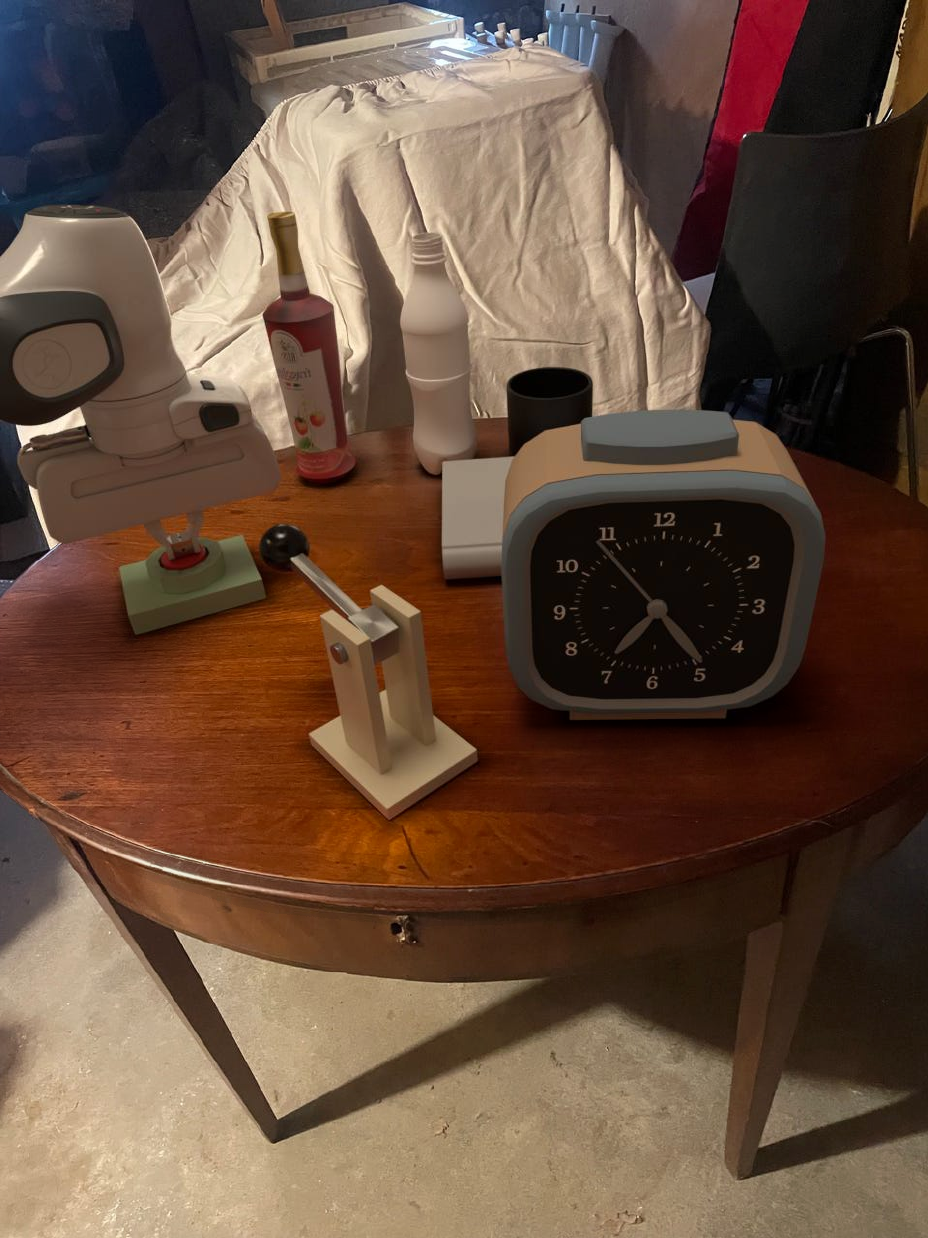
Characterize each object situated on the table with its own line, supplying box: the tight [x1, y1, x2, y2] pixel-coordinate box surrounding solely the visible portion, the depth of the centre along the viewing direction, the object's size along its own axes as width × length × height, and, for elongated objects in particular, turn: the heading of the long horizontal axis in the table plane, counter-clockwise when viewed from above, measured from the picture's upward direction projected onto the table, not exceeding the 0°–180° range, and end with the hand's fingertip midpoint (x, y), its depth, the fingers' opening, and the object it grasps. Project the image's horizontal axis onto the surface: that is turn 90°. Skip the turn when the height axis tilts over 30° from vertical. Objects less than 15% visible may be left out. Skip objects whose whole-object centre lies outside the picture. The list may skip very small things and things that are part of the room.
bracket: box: [308, 584, 479, 821], centre depth 61 cm, size 10×8×13 cm
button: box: [161, 545, 207, 570], centre depth 82 cm, size 4×4×2 cm
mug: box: [505, 366, 594, 457], centre depth 99 cm, size 9×12×9 cm
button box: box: [118, 534, 267, 636], centre depth 82 cm, size 12×9×4 cm
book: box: [441, 456, 514, 580], centre depth 87 cm, size 18×4×24 cm
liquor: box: [262, 211, 356, 485], centre depth 93 cm, size 7×7×28 cm
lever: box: [258, 523, 399, 666], centre depth 61 cm, size 14×4×4 cm, turn 40°
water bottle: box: [399, 232, 478, 476], centre depth 94 cm, size 7×7×25 cm
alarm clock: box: [501, 409, 827, 721], centre depth 62 cm, size 21×10×22 cm, turn 87°
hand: (184, 553), depth 81 cm, fingers closed, pressing on button
